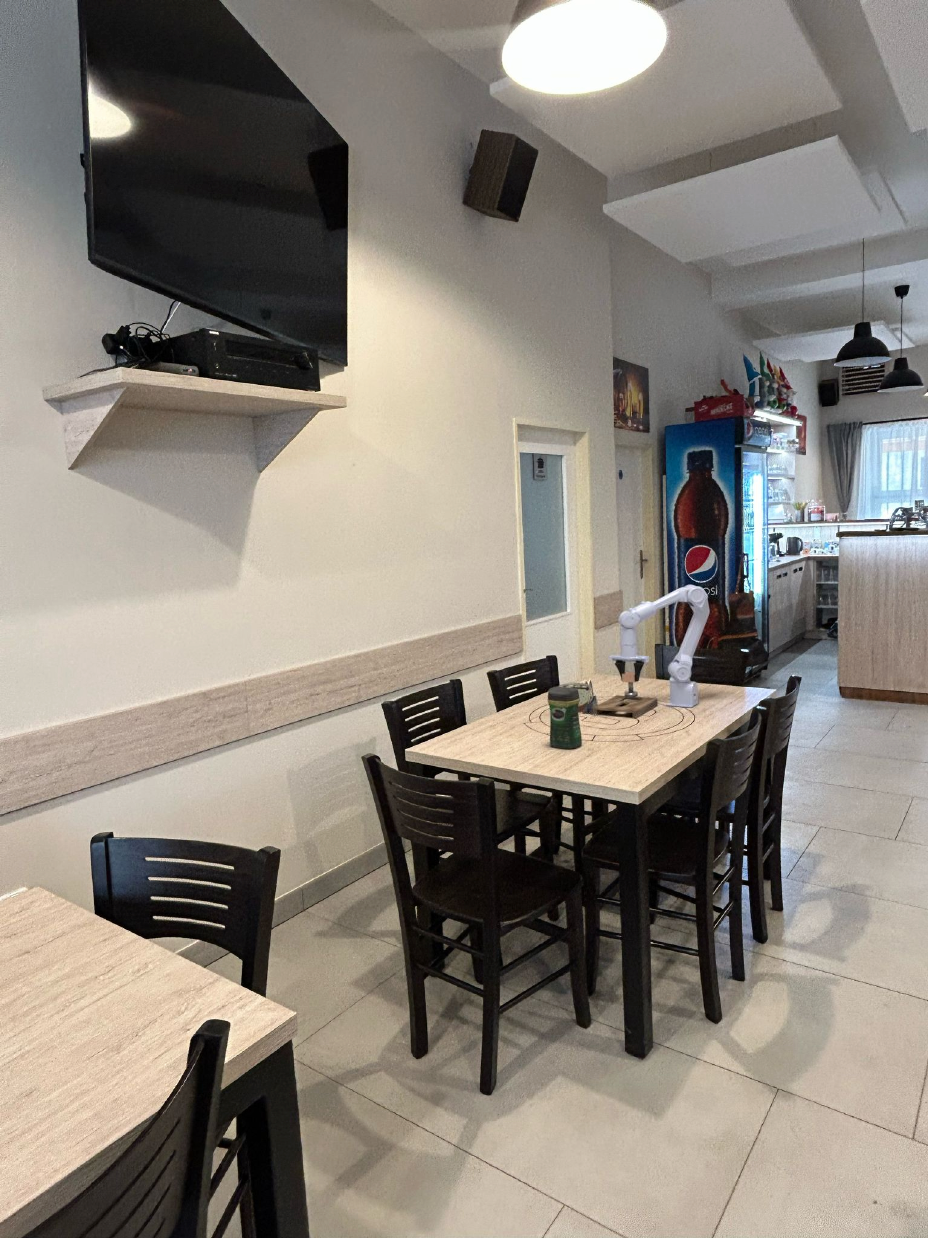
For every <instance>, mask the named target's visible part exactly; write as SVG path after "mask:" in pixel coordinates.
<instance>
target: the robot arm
mask: <svg viewBox="0 0 928 1238" xmlns="http://www.w3.org/2000/svg"><path fill="white" fill-rule="evenodd" d="M708 595H709V594H707V592H706V591H705V589H704V588H703V587H702V586H696V585H694V584H687V585H685V586H684V587H683V586H682V587H679V588H677V589H675V590H673V591H672V592H669V593H667V594H666V595H664V596H662V597H660V598H658V599H657V600H655V601H653V602H651V601H650V600H649V601H647V600H646V601H645V600H643V601H641V602H640V604H638V605H636V606H635V607H630V608H629V609H628V610H625V611H622V612H621V613H620V615H619V616H618V619H617V620H618V623H619V624H620V654H611V655H609V662H614V666H615V667H616V670H618V673H619V675H620V679H621V681H622V674H623V673H625V672H626V662H632V663H633V668H634V669H633V670H634V672H635V683H638V682H639V681H640V677H641V672H642V670H643V667H644V665H645V663H649V662H650V661H651V660H650V659H651V658H650V656H649V655H638V641H637V640H638V639H637V638H638V637H637V634H638V633H637V625H638V623H641V622H643V621H646V620H648V619H650V618H652V617H655V616H656V613H657V611H659V610H661V609H663V608H666V607H668V606H670V605H672V604H674V603H677V602H680V603H683V602H684V603H687V604H688V605H689V607H690V608H691V609H692V611H693V615H692V617H691V620H690V622H689V625H688V627H687V629H686V633H685V634H684V638H683V641H682V642H681V645H680V648H679V650H678V653H677V654H676V655H675V656H674V657H673V660H672V661H671V662H670V663H669V665H668V666H667V671H668V674H669V676H670V678H669V701H670V702H668V703H667V704H666V706H668V707H680V708H693V707H694V706H696V705H698V704H699V700H698V697H699V696H698V695H699V694H698V685H697V682H696V681H691V676H692V666H693V657H694V654H695V652H696V649H697V647H698V644H699V641H700V639H701V636H702V634H703V632H704V629H705V625H706V623H707V620H708V618H709V615H710V612H711V610H710V606H709V601H708V599H709V596H708Z"/></svg>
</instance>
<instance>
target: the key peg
mask: <svg viewBox="0 0 928 1238" xmlns="http://www.w3.org/2000/svg"><path fill="white" fill-rule="evenodd" d="M621 682H622V683H627V687H628V690H627V691H624V695H623V696H625V697H639V694H638V693H639V692H638V691H636V690H634V683H636V682H635V671H628V670H627V671H626V670H625V673H623V674H622V680H621Z"/></svg>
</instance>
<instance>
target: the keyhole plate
mask: <svg viewBox="0 0 928 1238" xmlns="http://www.w3.org/2000/svg"><path fill="white" fill-rule="evenodd" d="M625 700H630V701H631V700H632V702H630V703H628V704H626V705H624V706H621V705H623V704H624V701H625ZM633 701H636V702H633ZM658 703H659V702H658V697H645V696H636V697H625V695H618V694H616V695H615V696H613V697H611V698H608V699H606V700H605V701H603V702H601V703H599V704H597V705H594V706H593V708H592V709H593V715H594V714H596V715H595V716H597V714H598V715H600V714H602V713H603V711H604V712H605V711H609V712H610V711H611V712H619V713H621V712H622V713H632V719H638V718H639V716H640V717H641V716H643V715H644V714H647V713H648V712H650V711H652V710H653V709H655V708H656V707H658V705H659V704H658ZM637 717H638V718H637Z"/></svg>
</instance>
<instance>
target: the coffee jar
mask: <svg viewBox="0 0 928 1238" xmlns="http://www.w3.org/2000/svg"><path fill="white" fill-rule="evenodd" d="M579 702H580V697H579V692H578V689H577V688H569V687H558V686H553V687H550V688H549V689H548V692H547V704H548V706H549V715H550V716H549V718H550V720H549V721H550V722H549V744H550V746H551V747H553V748H558V749H573V748H575V749H577V748H579V747H581V745H582V744H583V739H582V731H581V723H580V716H579V714H580V713H578V705H579Z"/></svg>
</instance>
